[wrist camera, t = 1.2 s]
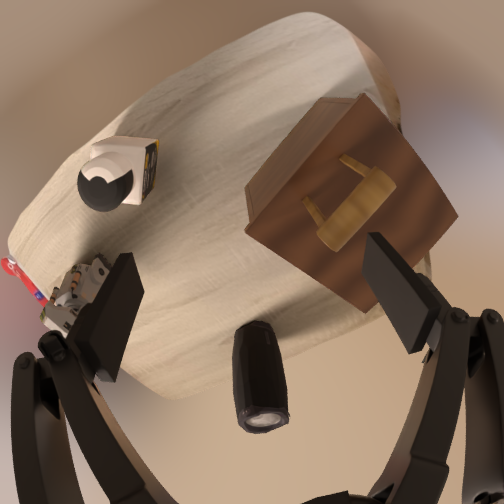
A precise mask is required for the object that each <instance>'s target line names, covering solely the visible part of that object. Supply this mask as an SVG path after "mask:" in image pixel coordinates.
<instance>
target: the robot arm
mask: <svg viewBox="0 0 504 504" xmlns="http://www.w3.org/2000/svg"><path fill="white" fill-rule="evenodd" d="M361 274H362V275H363V277H364V278H365V280H366V282H367V283H368V285H369V286H370V288H371V290H372V291H373V293H374V294H375V296H376V298H377V299H378V301H379V303H380V304H381V306H382V308H383V309H384V311H385V313H386V315H387V316H388V318H389V320H390V321H391V323H392V325H393V327H394V328H395V330H396V332H397V334H398V335H399V337H400V339H401V341H402V343H403V344H404V346H405V348H406V350H407V352H408V354H412V353H416V352H419V351H422V349H423V347H424V345H425V343H426V342H427V344H428V345H429V347H430V348H429V350H428V352H427V354H426V356H425V357H424V359H423V361H422V363H424V362H425V363H424V366H423V370H422V374H421V377H420V380H419V384H418V387H417V390H416V393H415V396H414V399H413V402H412V405H411V408H410V411H409V414H408V416H407V419H406V422H405V424H404V426H403V429H402V432H401V434H400V436H399V439H398V441H397V443H396V446H395V448H394V450H393V452H392V454H391V457H390V459H389V461H388V463H387V465H386V467H385V469H384V471H383V473H382V475H381V476H380V478H379V479H378V480H377V482H376V483H375V484H374V486H373V487H372V489H371V490H370V492H369V494H368V495H367V496H362V495H353V494H349V493H348V491H343V492H339V493H335V494H331V495H326V496H321V497H317V498H314V499H312V500H309V501H307V502H304V503H302V504H437V503H438V501H439V498H440V495H441V493H442V491H443V488H444V485H445V483H446V480H447V477H448V473H449V466H448V465H447V464H446V460H447V456H448V453H449V450H450V446H451V443H452V439H453V436H454V431H455V427H456V424H457V419H458V415H459V411H460V406H461V401H462V395H463V390H464V388H465V405H466V450H465V467H464V477H463V487H462V504H504V322H503V319H502V317H501V315H500V314H499V313H498V312H497V311H495V310H492V309H485V310H484V311H483V313H482V314H481V316H480V317H469V315H468V313H466V312H465V311H464V310H462V309H460V308H456V307H453V308H452V307H451V305H450V304H449V303H448V302H447V300H446V299H445V298H444V297H443V295H442V294H441V293H440V292H439V291H438V289H437V288H436V287H435V286H434V285H433V283H432V282H431V281H430V280H429V278H427V277H426V276H424V275H423V274H421V273H415V272H414V270H413V269H412V268H411V267H410V266H409V265H408V263H407V262H406V261H405V260H404V259H403V258H402V256H401V255H400V254H399V253H398V252H397V251H396V250H395V249H394V247H393V246H392V245H391V244H390V243H389V242H388V241H387V240H386V239H385V238H384V237H383V235H382V234H381V233H380V232H367V239H366V246H365V252H364V259H363V265H362V270H361ZM143 295H144V289H143V286H142V283H141V279H140V276H139V273H138V270H137V267H136V263H135V260H134V257H133V253H132V252H130V253H120V255H119V256H118V258H117V260H116V261H115V263H114V265H113V266H112V268H111V270H110V272H109V273H108V275H107V277H106V279H105V280H104V282H103V284H102V286H101V287H100V289H99V291H98V293H97V295H96V297H95V299H94V300H93V302H92V303H87V304H86V305H85V306H84V307H83V308H82V309H81V310H80V311H79V313H78V315H77V318H76V319H75V321H74V324H73V325H72V327H71V329H70V330H69V332H68V334H67V336H66V339H65V338H64V336H63V335H62V333H61V332H60V331H58V330H51V331H49V332H47V333H45V334H44V335H43V336H42V337H41V338H40V340H39V342H38V348H39V350H40V351H41V353H42V354H43V355H44V358H39V359H36V358H35V356H34V355H33V354H32V353H31V352H24V353H23V354H21V355H19V356H18V357H17V359H16V360H15V363H14V367H13V378H12V393H11V438H12V439H11V440H12V454H13V465H14V473H15V480H16V487H17V493H18V498H19V503H20V504H84V500H83V497H82V494H81V491H80V487H79V483H78V480H77V476H76V472H75V468H74V464H73V460H72V455H71V450H70V445H69V439H68V434H67V427H66V420H65V415H66V417H67V419H68V422H69V424H70V427H71V429H72V431H73V434H74V436H75V438H76V440H77V442H78V444H79V446H80V449H81V451H82V453H83V454H84V457H85V459H86V460H87V462H88V464H89V466H90V468H91V470H92V472H93V474H94V475H95V477H96V479H97V480H98V482H99V484H100V486H101V487H102V489H103V491H104V492H105V494H106V495H107V497H108V498H109V500H110V504H179V503H177V502H176V501H175V500H174V499H173V498H172V497H171V496H170V494H169V493H168V492H167V491H166V490H165V489H164V487H163V486H162V485H161V484H160V482H159V481H158V480H157V479H156V477H155V476H154V475H153V473H151V471H150V470H149V468H148V467H147V466H146V464H145V463H144V461H143V460H142V459H141V457H140V456H139V454H138V453H137V452H136V450H135V449H134V447H133V446H132V444H131V443H130V441H129V440H128V438H127V437H126V436H125V434H124V432H123V431H122V429H121V427H120V426H119V424H118V422H117V421H116V419H115V417H114V416H113V414H112V412H111V411H110V409H109V407H108V405H107V404H106V402H105V400H104V398H103V396H102V395H101V393H100V391H99V389H98V387H97V385H96V383H95V382H94V381H93V380H94V377H95V374H96V375H97V376H98V378H99V379H100V381H103V382H116V378H117V374H118V371H119V368H120V364H121V361H122V358H123V354H124V351H125V348H126V345H127V342H128V338H129V335H130V332H131V329H132V326H133V323H134V320H135V317H136V315H137V312H138V309H139V306H140V303H141V300H142V298H143ZM64 412H65V413H64Z"/></svg>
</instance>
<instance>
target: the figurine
mask: <svg viewBox="0 0 504 504" xmlns="http://www.w3.org/2000/svg"><path fill="white" fill-rule="evenodd" d="M93 260H94V261H93V263H92V265H91V266H90V265H85V264H80V263H79V264H78V265H75V266H73V267H72V269H71V270H70V271H68V272H67V273H66V275H65V278H64V280H63V282H62V285H61V287H60V290H59V288H57V287H54V289H53V293H52V295H51V297H50V300H49V301H48V302H47V304H46V305H45V307H44V309H43V311H42V313H41V315H40V319H41V321H42V323H43V324H44V325H45V326H47V327H48V328H49V329H50V330H58V331H60V332H61V333H62V335H63V336H64V338H65V339H66V336H67V334H68V332H69V330H70V329H71V327H72V325H73V324H74V321H75V319H76V318H77V315H78V313H79V311H80V310H81V309H82V308H83V307H84V306H85V305H86V304H87V303H92V302H93V300H94V299H95V297H96V295H97V293H98V291H99V289H100V287H101V286H102V284H103V282H104V280H105V279H106V277H107V275H108V273H109V272H110V270H111V268H112V267H111V264H109V263H108V262H107V261H106V258H104V257H103V255H102V254H101V253H98V254H97V255H95V257H94V259H93ZM55 301H56V305H57V306H55V305H54V303H55Z"/></svg>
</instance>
